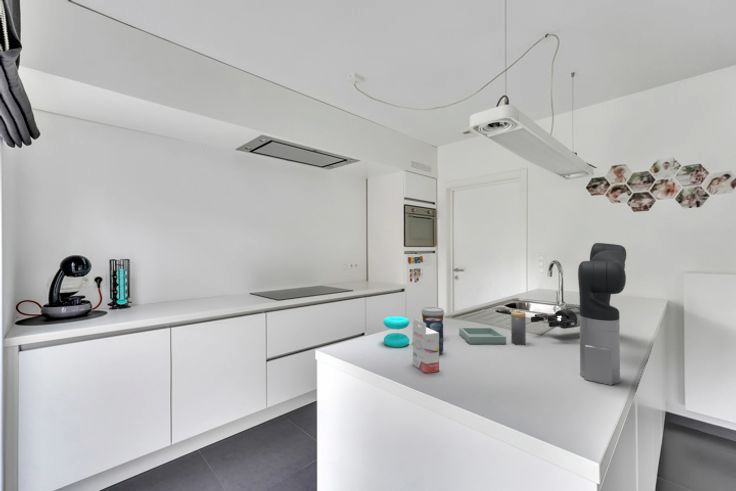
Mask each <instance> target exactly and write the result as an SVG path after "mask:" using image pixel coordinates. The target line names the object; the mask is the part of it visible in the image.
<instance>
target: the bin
mask: <svg viewBox="0 0 736 491" xmlns="http://www.w3.org/2000/svg"><path fill="white" fill-rule="evenodd" d="M458 329H459V332H458V334H459V336H460V337H461V338H462V339H463V340H464V341H465V342H466V343H467V344H468V345H470V346H473V345H474V346H475V345H476V346H480V345H481V346H482V345H483V346H484V345H486V346H487V345H488V346H489V345H490V346H493V345H495V346H496V345H497V346H498V345H499V346H500V345H503V346H504V345H507V336H506V335H504V334H503V333H501V332H499V331H498V330H496V329H495V328H493V327H459V328H458Z"/></svg>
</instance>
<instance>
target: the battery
mask: <svg viewBox="0 0 736 491" xmlns="http://www.w3.org/2000/svg"><path fill="white" fill-rule="evenodd" d="M510 313H511V314H510V318H511V319H510V322H511V323H510V326H511V328H510V329H511V330H510V331H511V341H510V342H511V344H513V345H515V346H525V345H527V344H526V343H527V342H526V340H527V339H526V336H527V334H526V332H527V331H526V328H527V326H526V312H524V311H521V310H520V309H516V310H512V311H511V312H510Z"/></svg>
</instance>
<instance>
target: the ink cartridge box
mask: <svg viewBox="0 0 736 491" xmlns="http://www.w3.org/2000/svg"><path fill="white" fill-rule="evenodd" d="M419 325H420V326H419ZM412 364H413V365H414V366H415V367H416V368H418V369H419V370H420V371H422V372H424V373H425V374H431V373H436V372H439V371H440V355H439V332H436V331H434V330H431V329H429V328H427V327H426V323H423V321H421V320H419V319H416V318H413V321H412Z"/></svg>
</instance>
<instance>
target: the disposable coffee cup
mask: <svg viewBox="0 0 736 491" xmlns="http://www.w3.org/2000/svg"><path fill="white" fill-rule="evenodd" d="M420 313H421V316H422V322H423V323H424V321H425V318H428V317H436V318H440V319H441V321H442V323H443V324H444V315H445V313H446V312H445V311H444V309H443V308H442V307H437V306H435V307H434V306H432V307H431V306H430V307H429V306H427V307H422V309H421V311H420Z"/></svg>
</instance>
